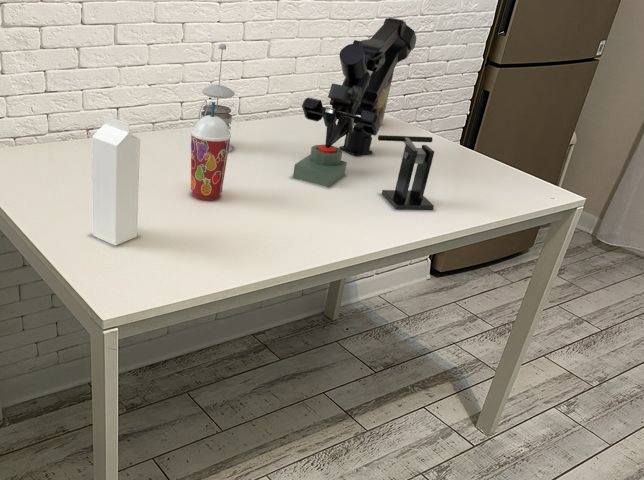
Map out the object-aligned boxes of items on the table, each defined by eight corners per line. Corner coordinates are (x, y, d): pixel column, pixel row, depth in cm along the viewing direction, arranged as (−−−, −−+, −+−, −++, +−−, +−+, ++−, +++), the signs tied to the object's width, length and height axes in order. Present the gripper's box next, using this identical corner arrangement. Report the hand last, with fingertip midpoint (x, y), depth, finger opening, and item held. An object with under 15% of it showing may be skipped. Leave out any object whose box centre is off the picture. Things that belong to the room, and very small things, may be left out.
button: (320, 153, 180) (322, 143, 178) (337, 157, 178) (339, 147, 177) (313, 157, 177) (315, 147, 175) (330, 162, 175) (332, 151, 174)
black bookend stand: (381, 194, 172) (393, 140, 165) (416, 195, 174) (430, 141, 167) (395, 210, 164) (409, 154, 157) (432, 210, 166) (447, 155, 159)
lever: (376, 141, 168) (379, 131, 167) (428, 143, 171) (432, 133, 170) (391, 163, 161) (394, 153, 160) (445, 164, 164) (449, 154, 163)
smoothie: (229, 193, 163) (239, 101, 152) (217, 206, 156) (226, 110, 145) (194, 185, 165) (201, 94, 154) (180, 197, 158) (187, 103, 147)
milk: (114, 227, 143) (116, 112, 131) (137, 237, 140) (141, 120, 128) (91, 235, 138) (91, 117, 126) (115, 246, 136) (117, 126, 124)
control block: (311, 165, 184) (315, 141, 181) (345, 174, 181) (349, 150, 178) (292, 178, 175) (296, 153, 172) (327, 187, 172) (331, 162, 169)
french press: (239, 147, 190) (250, 45, 177) (215, 157, 182) (225, 51, 168) (208, 138, 194) (216, 37, 181) (182, 147, 186) (189, 42, 172)
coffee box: (364, 128, 216) (376, 72, 207) (347, 122, 219) (358, 66, 211) (383, 124, 222) (394, 69, 213) (365, 118, 225) (376, 63, 216)
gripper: (311, 62, 174) (285, 118, 171) (386, 78, 167) (360, 137, 165) (318, 90, 184) (294, 144, 182) (389, 106, 177) (365, 162, 175)
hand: (327, 146), depth 176 cm, fingers closed, pressing on button
